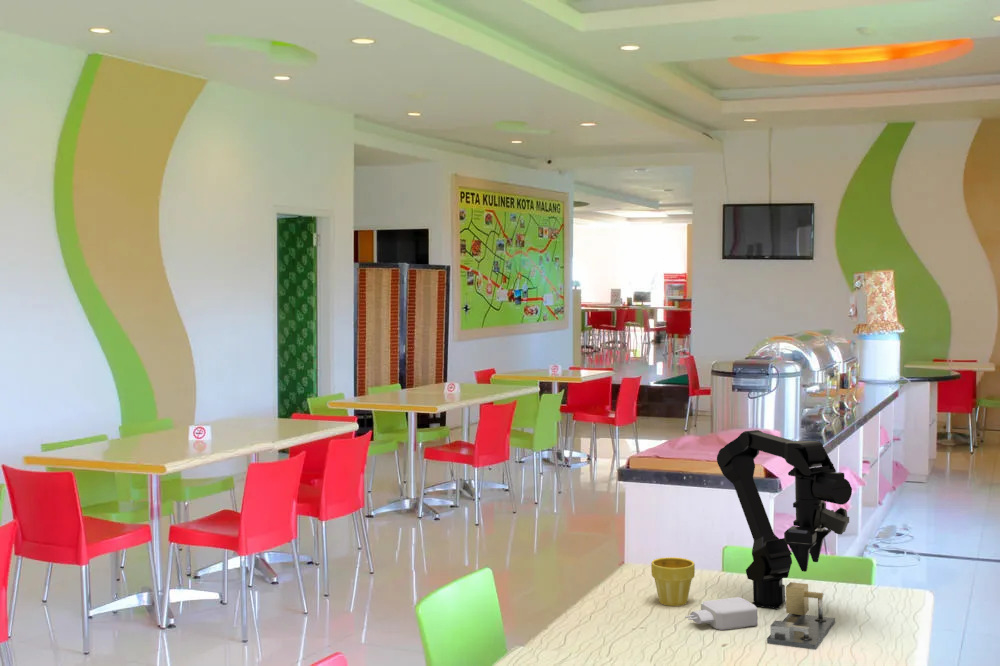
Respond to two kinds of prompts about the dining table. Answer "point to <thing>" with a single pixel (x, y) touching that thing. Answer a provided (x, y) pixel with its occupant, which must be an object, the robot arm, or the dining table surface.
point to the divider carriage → (801, 599)
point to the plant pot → (673, 579)
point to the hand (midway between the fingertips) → (810, 566)
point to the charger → (726, 613)
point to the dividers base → (800, 631)
